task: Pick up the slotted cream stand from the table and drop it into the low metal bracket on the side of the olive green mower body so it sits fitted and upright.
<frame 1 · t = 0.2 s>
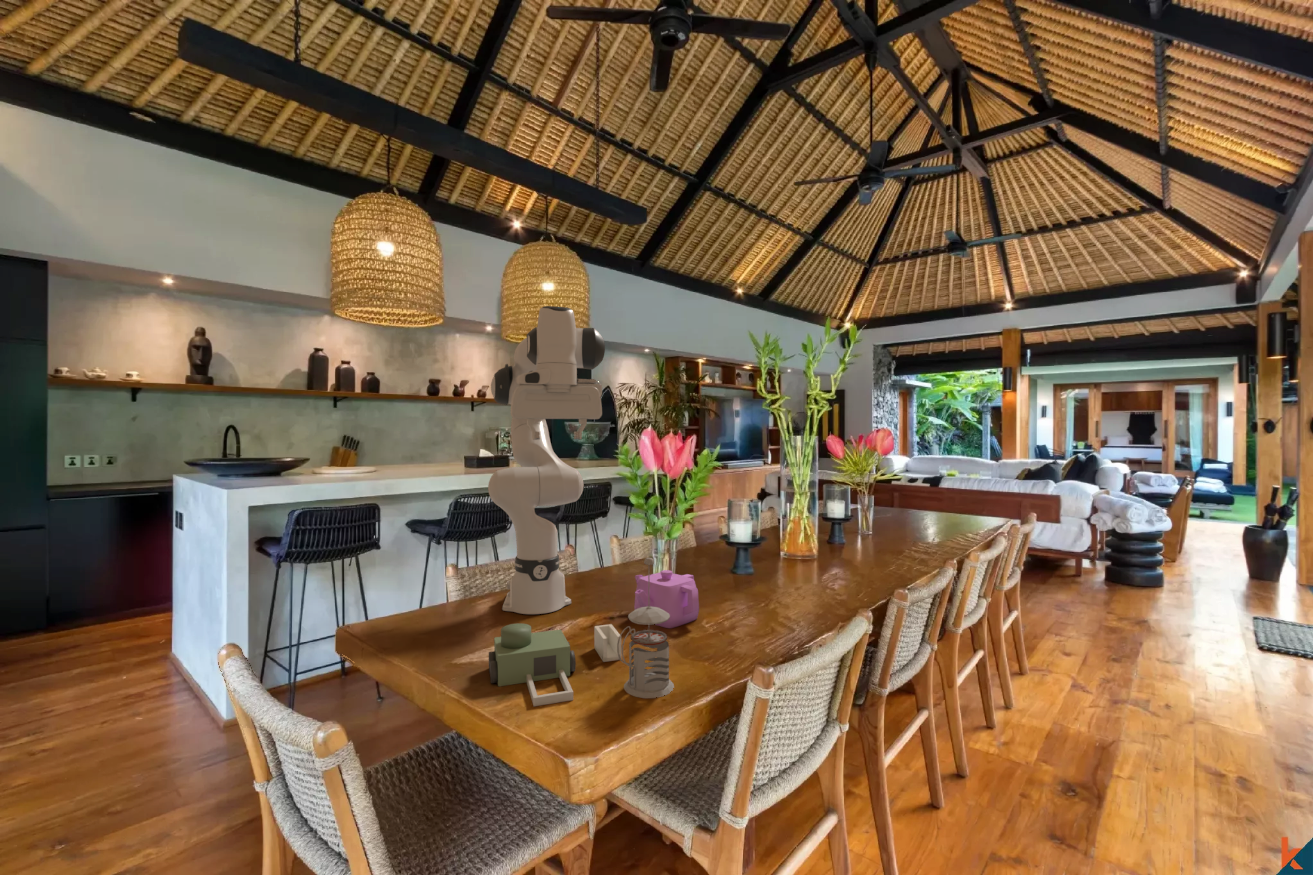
hand: (557, 439, 128), 47 cm above the table, tool pointing down, fingers open, 8 cm apart
teakettle: (663, 618, 150), on the table
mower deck: (548, 689, 109), on the table
slotted cream stand: (607, 653, 126), on the table
french press: (645, 688, 110), on the table
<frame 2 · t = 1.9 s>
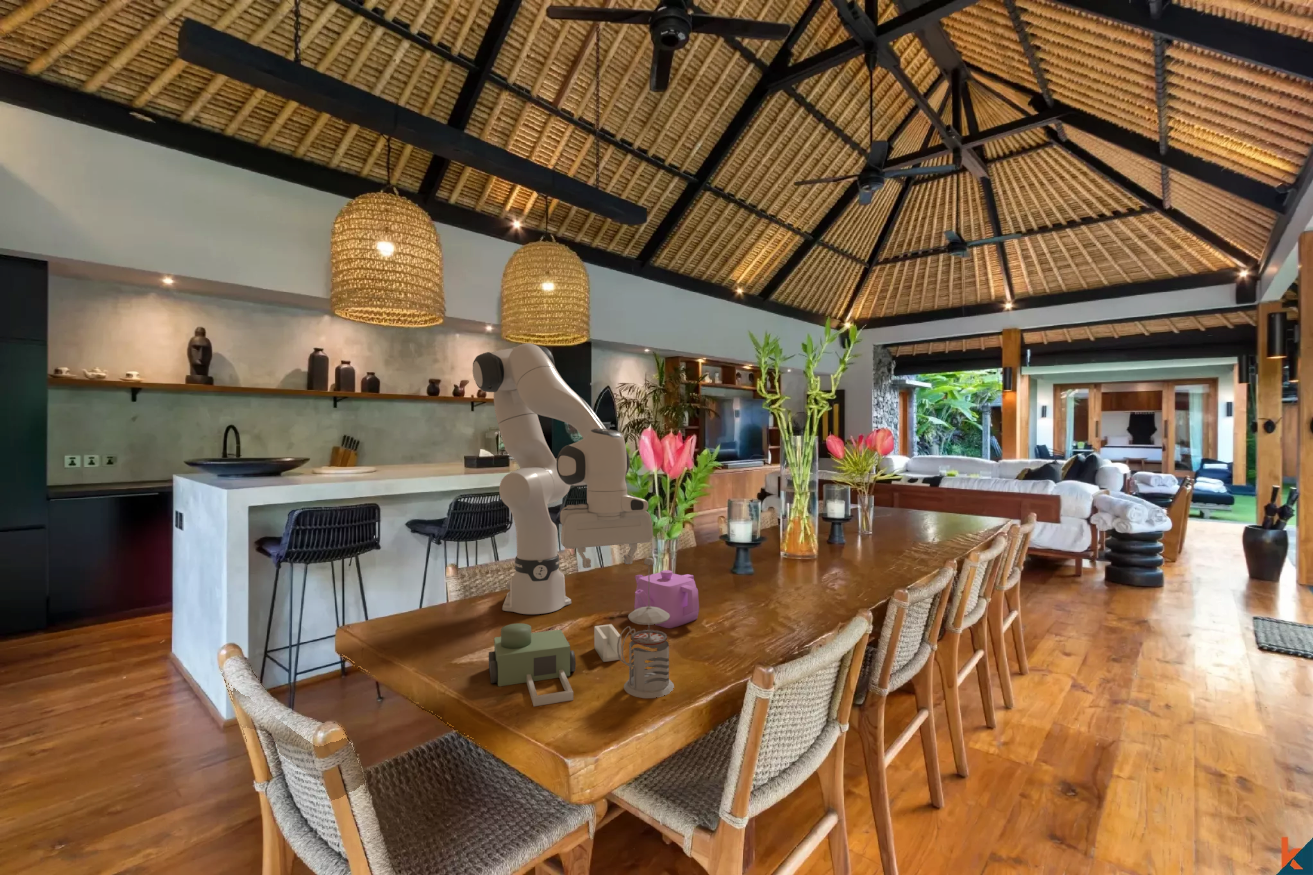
hand: (607, 565, 126), 20 cm above the table, tool pointing down, fingers open, 8 cm apart
nothing on the table moved.
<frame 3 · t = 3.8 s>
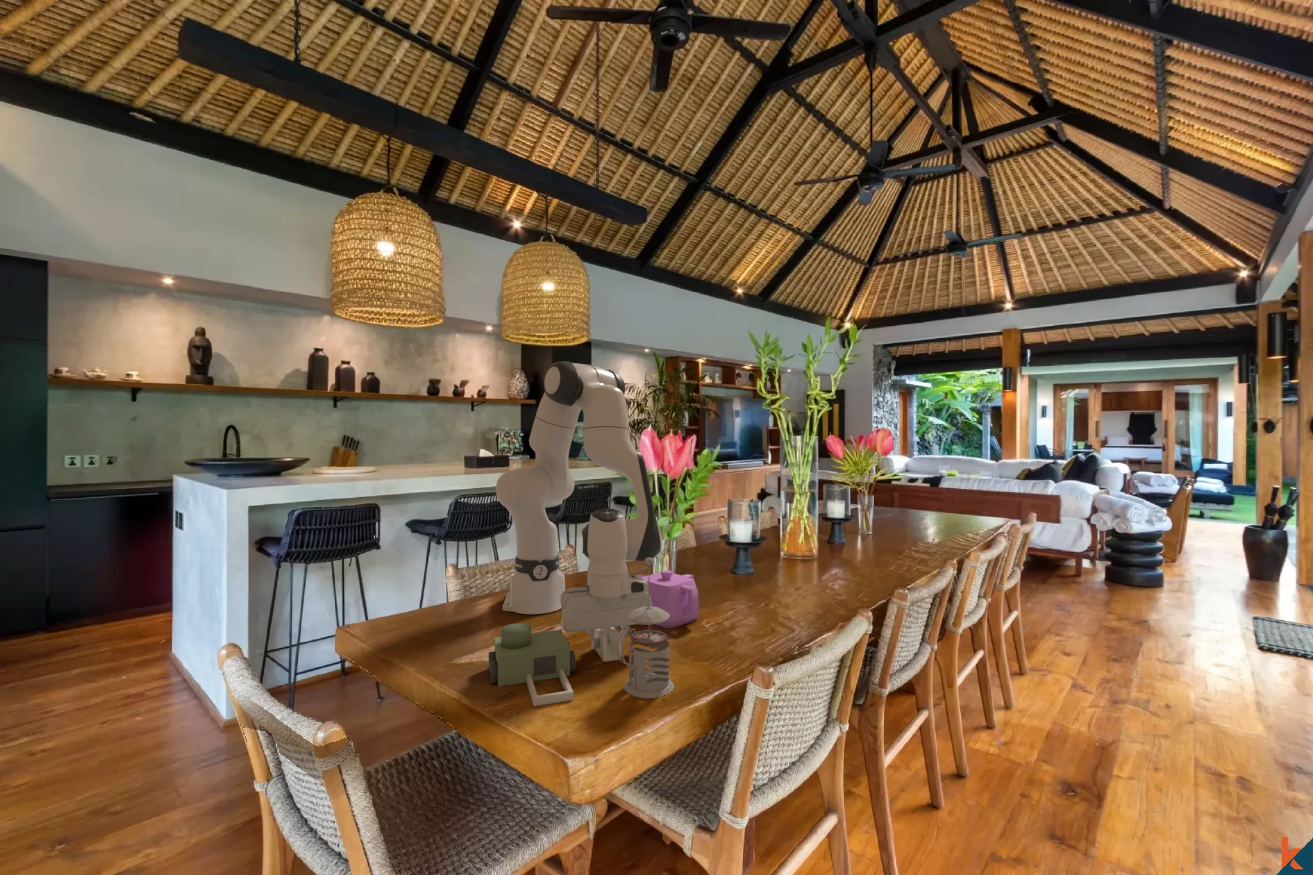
hand: (607, 646, 126), 2 cm above the table, tool pointing down, fingers closed on slotted cream stand, 4 cm apart
slotted cream stand: (607, 653, 126), on the table, touching gripper
everything else where it was.
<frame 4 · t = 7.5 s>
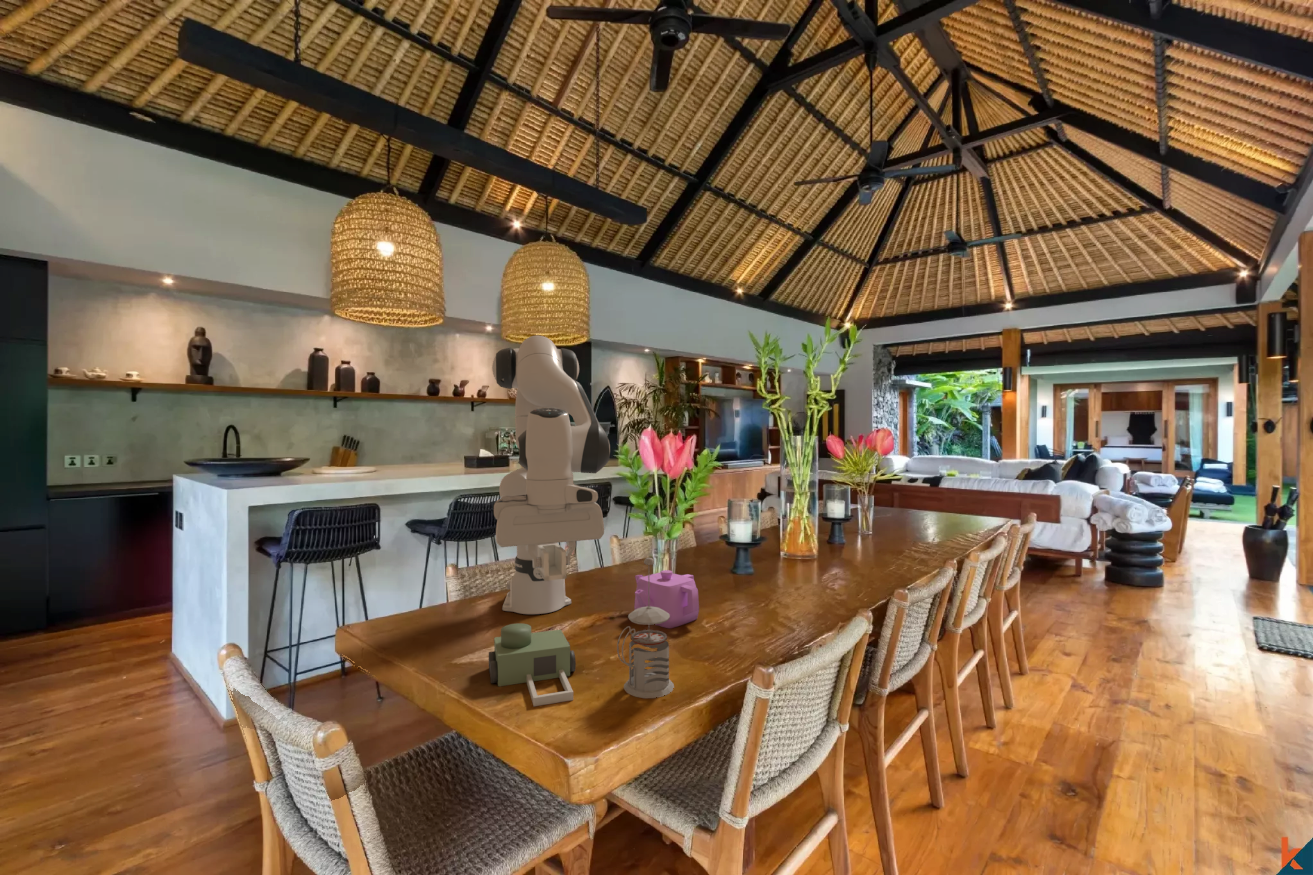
hand: (551, 566, 109), 24 cm above the table, tool pointing down, fingers closed on slotted cream stand, 4 cm apart
slotted cream stand: (551, 574, 109), point 22 cm above the table, touching gripper
everything else where it was.
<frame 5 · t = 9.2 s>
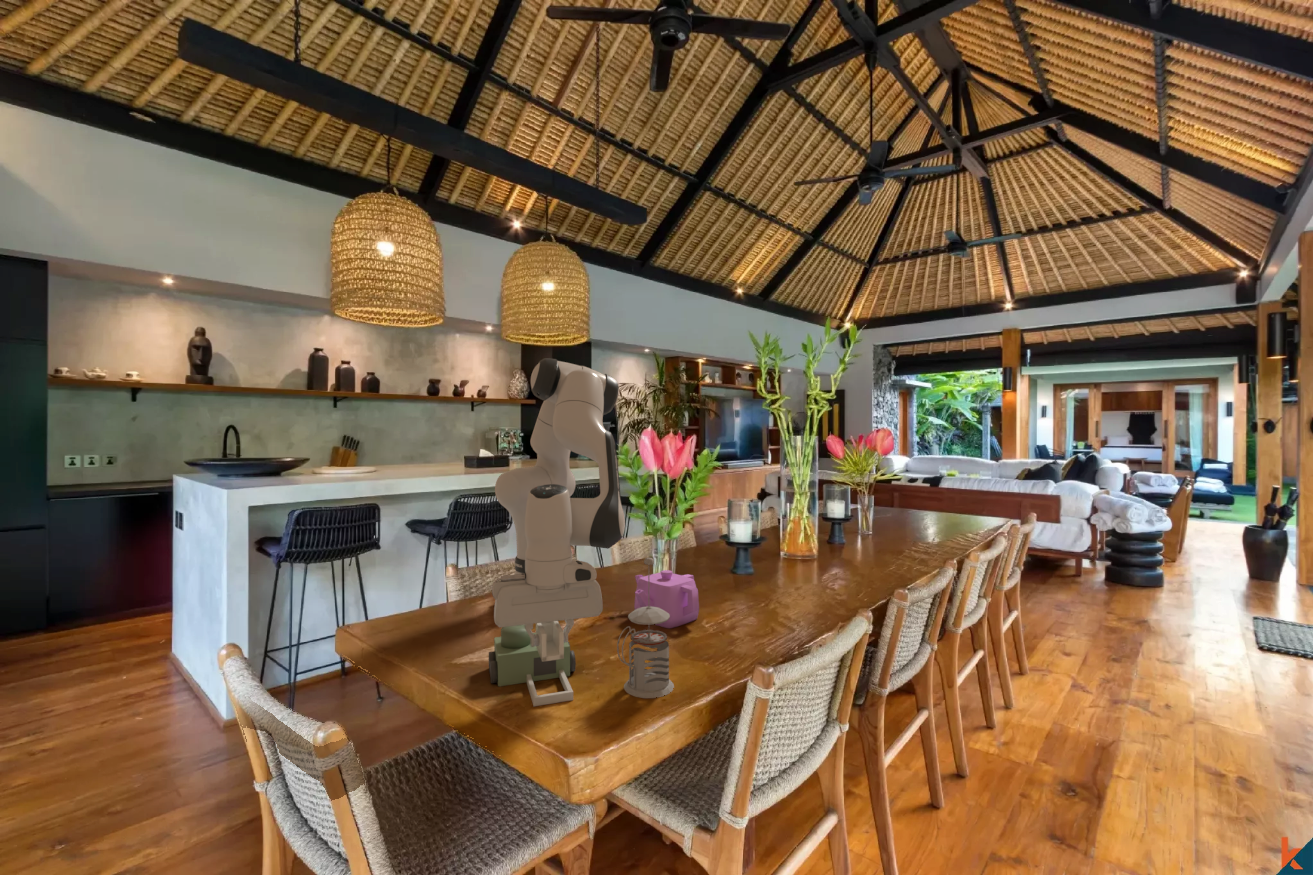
hand: (549, 643, 109), 9 cm above the table, tool pointing down, fingers closed on slotted cream stand, 4 cm apart
slotted cream stand: (549, 651, 109), point 7 cm above the table, touching gripper
everything else where it was.
when the fingers open (3 cm above the table, at t = 10.7 s): slotted cream stand drops 1 cm, resting in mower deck.
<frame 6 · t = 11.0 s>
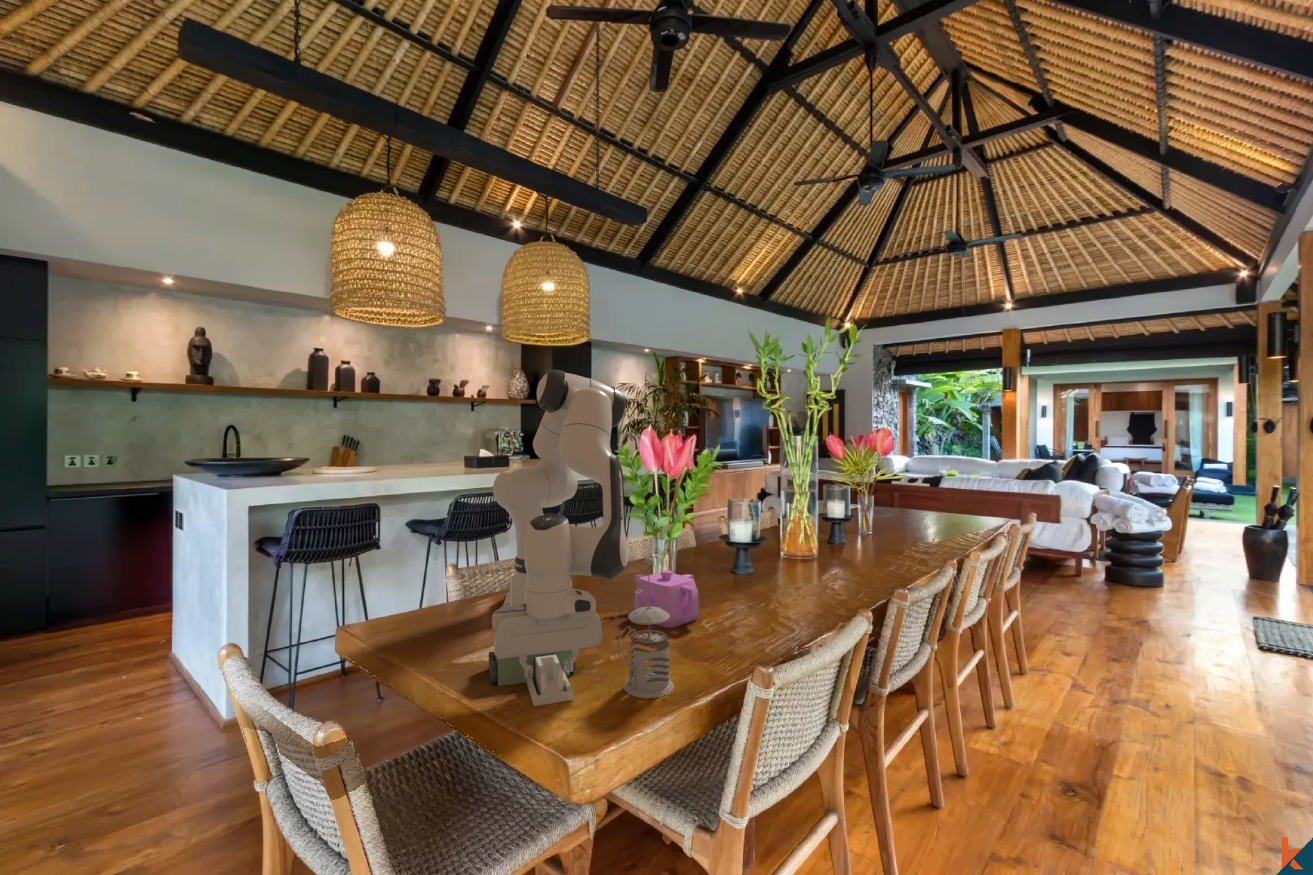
hand: (548, 673, 109), 3 cm above the table, tool pointing down, fingers open, 6 cm apart
slotted cream stand: (549, 689, 109), resting in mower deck
everything else where it was.
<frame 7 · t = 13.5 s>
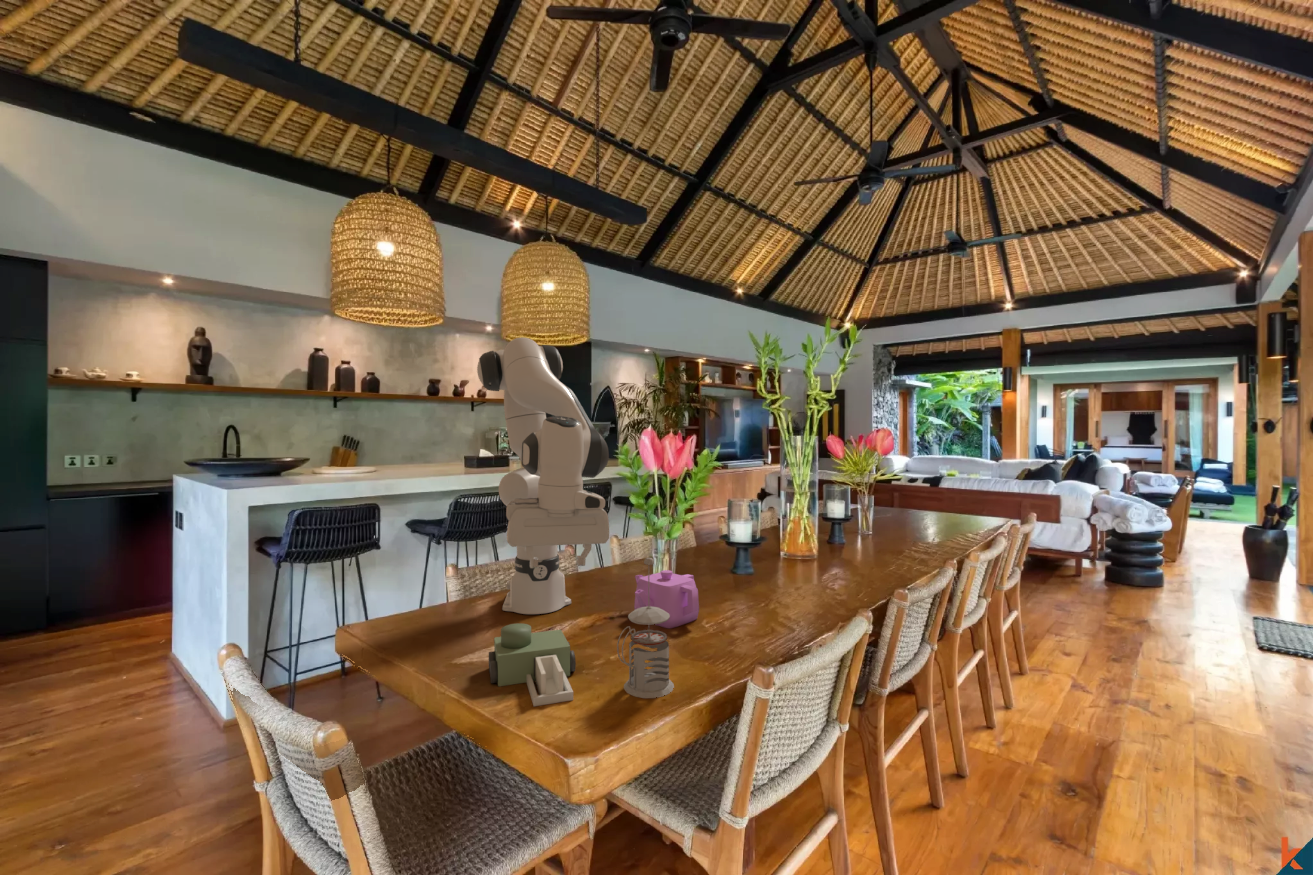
hand: (557, 566, 115), 22 cm above the table, tool pointing down, fingers open, 8 cm apart
nothing on the table moved.
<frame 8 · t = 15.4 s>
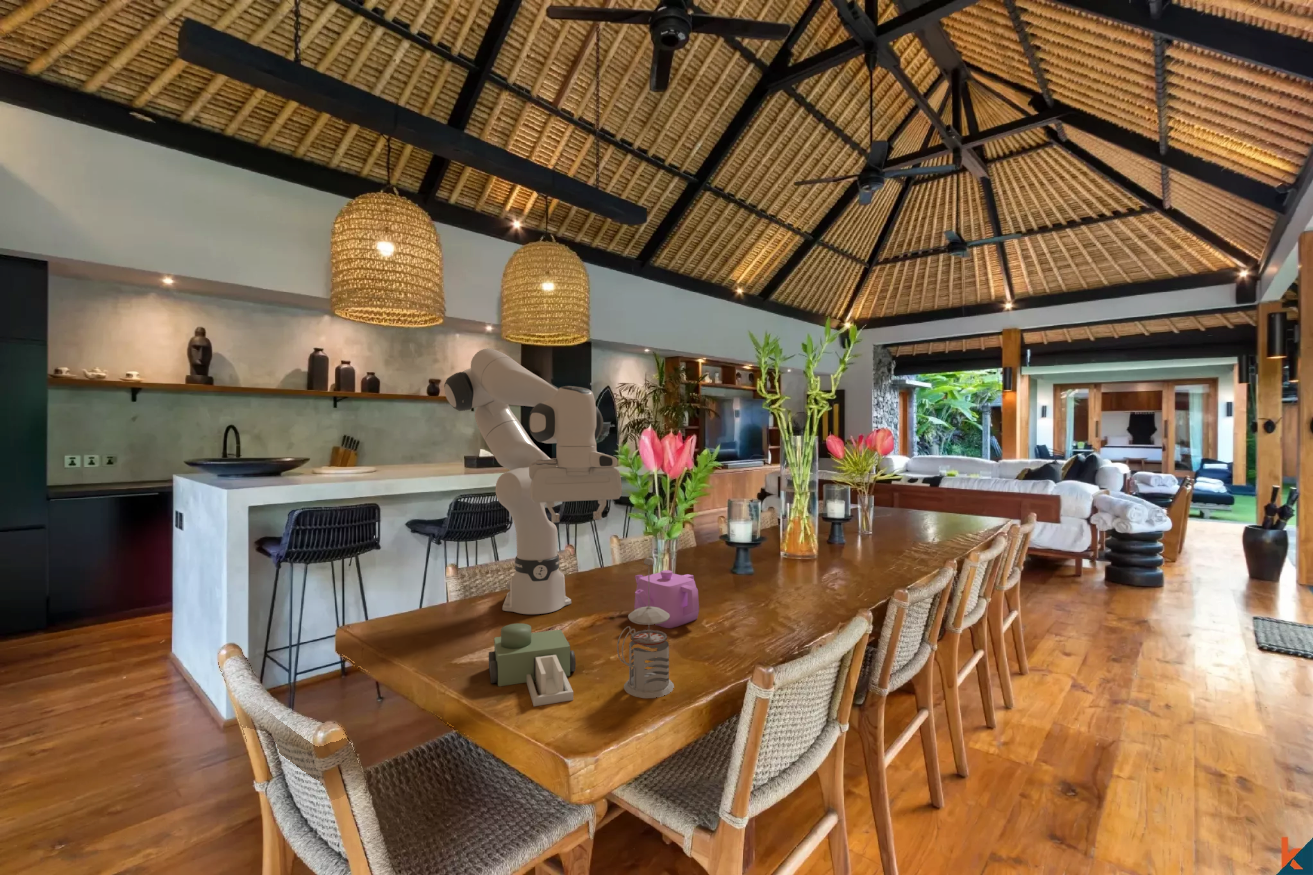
hand: (576, 520, 127), 29 cm above the table, tool pointing down, fingers open, 8 cm apart
nothing on the table moved.
at the end: slotted cream stand 0.0 cm off-centre on the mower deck, point 0.0 cm above the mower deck's base; slotted cream stand tilted 0°; the gripper is holding nothing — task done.
